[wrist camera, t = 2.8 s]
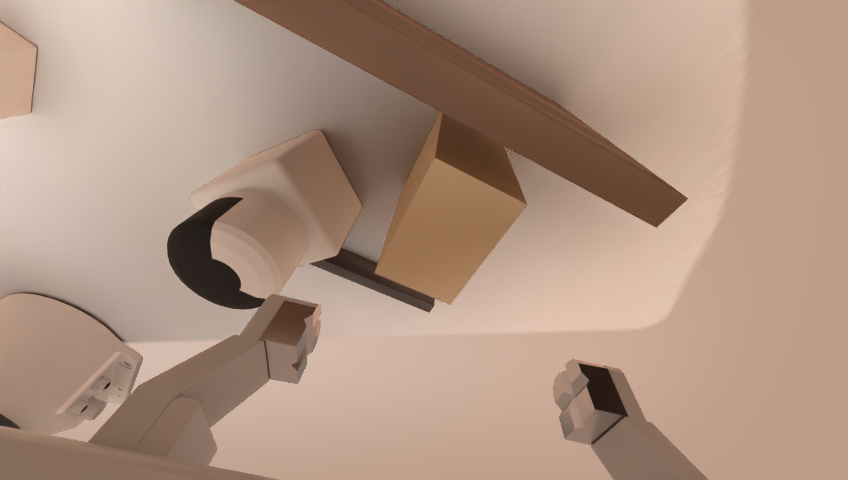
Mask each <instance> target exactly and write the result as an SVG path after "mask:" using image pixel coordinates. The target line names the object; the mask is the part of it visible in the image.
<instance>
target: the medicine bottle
mask: <svg viewBox="0 0 848 480" xmlns="http://www.w3.org/2000/svg"><path fill="white" fill-rule="evenodd" d="M189 199H190V201H191V202H192V203H193V205H194V206H195V207H196V208H197V209H198V210H199V211H198V212H196V213H195V214H194V215H192V216H191V217H189V218H188V219H187V220H185V221H184V222H182V223H181V224H179V225H178V226H177V227H176V228H174V229H173V231H172V232H171V233H170V236H169V238H168V243H167V250H168V258H169V262H170V264H171V267H172V268H173V270H174V272H175V273H176V275H177V276H178V277H179V279H180V280H181V281H182V282H183V283H184V284H185V285H186V286H187V287H188V288H190V289H191V290H192V291H193V292H195V293H196V294H198V295H199V296H201V297H203V298H204V299H206V300H208V301H210V302H213V303H215V304H218V305H220V306H224V307H228V308H233V309H253V308H257V307H261V305H262V304H263V303H264V301H265V300H266V298H267V297H268V296H270V295H271V294H275V295H278V294H279V293H280V291H281V290H282V288H283V287H284V285H285V284H286V282H287V281H288V279H289V278H290V276H291V275H292V273H293V272H294V270H295V269H296V267H299V266H303V265H306V264H309V263H313V262H316V261H320V260H323V259H327V258H330V257H334V256H336V255H337V254H338V253H339V251H340V249H341V247H342V245H343V243H344V242H345V240H346V238H347V236H348V234H349V232H350V230H351V228H352V226H353V224H354V223H355V221H356V219H357V217H358V215H359V213H360V211H361V209H362V205H361V203H360V201H359V199H358V197H357V195H356V194H355V192H354V190H353V188H352V186H351V184H350V183H349V181H348V179H347V177H346V175H345V173H344V172H343V170H342V168H341V166H340V164H339V162H338V160H337V159H336V157H335V155H334V153H333V151H332V149H331V148H330V146H329V144H328V142H327V140H326V138H325V137H324V135H323V133H322V132H321V131H320V130H313V131H311V132H309V133H306V134H304V135H302V136H299V137H297V138H294V139H292V140H290V141H287V142H285V143H283V144H280V145H278V146H276V147H273V148H271V149H268V150H266V151H264V152H261V153H259V154H257V155H254V156H252V157H250V158H247V159H246V160H244V161H243V162H241V163H239V164H238V165H236V166H234V167H233V168H231V169H230V170H228V171H226V172H225V173H223V174H221V175H220V176H218V177H217V178H215V179H213V180H212V181H210V182H209V183H207V184H205V185H204V186H202V187H200V188H199V189H197V190H196V191H194V192H192V193H191V194H190V195H189Z"/></svg>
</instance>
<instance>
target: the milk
mask: <svg viewBox="0 0 848 480" xmlns="http://www.w3.org/2000/svg"><path fill="white" fill-rule="evenodd" d="M36 55H37V47H36V46H34V45H33V44H31V43H30V42H28V41H27V40H25V39H24V38H23V37H21V36H20V35H18V34H17V33H15V32H14V31H12V30H11V29H9V28H8V27H7V26H5V25H4V24H2V23H1V22H0V119H3V118H8V117H13V116H18V115H23V114H28V113H30V112H31V103H32V93H33V84H34V74H35V65H36Z"/></svg>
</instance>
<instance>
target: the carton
mask: <svg viewBox="0 0 848 480" xmlns="http://www.w3.org/2000/svg"><path fill="white" fill-rule="evenodd" d="M526 205H527V203H526V200H525V198H524V196H523V193H522V191H521V188H520V186H519V183H518V181H517V178H516V176H515V173H514V171H513V169H512V166H511V164H510V161H509V159H508V156H507V154H506V151H505V149H504V146H503V145H502V144H500V143H498V142H496V141H494V140H493V139H491V138H489V137H487V136H485V135H483V134H481V133H480V132H478V131H476V130H474V129H472V128H470V127H468V126H467V125H465V124H463V123H461V122H459V121H457V120H455V119H454V118H452V117H450V116H448V115H446V114H444V113H442V112H441V111H440V113H439V115H438V117H437V119H436V121H435V123H434V125H433V128H432V130H431V132H430V134H429V136H428V138H427V140H426V142H425V144H424V146H423V148H422V150H421V152H420V154H419V156H418V158H417V160H416V162H415V164H414V166H413V168H412V170H411V173H410V175H409V177H408V179H407V181H406V183H405V185H404V187H403V190H402V193H401V196H400V199H399V202H398V205H397V208H396V211H395V214H394V217H393V220H392V223H391V226H390V229H389V231H388V234H387V237H386V240H385V243H384V246H383V249H382V252H381V255H380V258H379V261H378V264H377V267H376V270H375V274H378V275H380V276H382V277H385V278H387V279H390V280H392V281H394V282H397V283H399V284H401V285H404V286H406V287H409V288H411V289H413V290H416V291H418V292H421V293H423V294H425V295H428V296H430V297H433V298H435V299H437V300H440V301H442V302H445V303H447V304H449V305H450V304H451V303H452V302H453V300H454V299H455V298H456V296H457V295H458V294H459V292H460V291H461V290H462V289H463V287H464V286H465V285H466V283H467V282H468V281H469V279H470V278H471V277H472V276H473V274H474V273H475V272H476V270H477V269H478V268H479V267H480V265H481V264H482V263H483V261H484V260H485V259H486V257H487V256H488V255H489V254H490V252H491V251H492V250H493V248H494V247H495V246H496V244H497V243H498V242H499V241H500V239H501V238H502V237H503V235H504V234H505V233H506V231H507V230H508V229H509V228H510V226H511V225H512V224H513V222H514V221H515V220H516V218H517V217H518V216H519V215H520V213H521V212H522V211H523V209H524V208H525V207H526Z"/></svg>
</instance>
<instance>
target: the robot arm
mask: <svg viewBox="0 0 848 480" xmlns="http://www.w3.org/2000/svg"><path fill="white" fill-rule="evenodd" d="M320 313H321V305H318V304H313V303H309V302H305V301H301V300H297V299H293V298H289V297H284V296H280V295H275V294H271V295H270V296H268V297H267V298H266V300H265V301H264V303H263V304H262V305H261V307H260V308H259V309H258V311H257V312H256V314H255V315H254V316H253V318H252V319H251V321H250V322H249V323H248V325H247V326H246V328H245V329H244V330H243V332H242V333H241V334H240V336H239V335H233V336H231V337H229V338H228V339H226V340H224V341H222V342H220V343H218V344H216V345H214V346H213V347H211V348H209V349H207V350H205V351H203V352H201V353H199V354H197V355H196V356H194V357H192V358H190V359H188V360H186V361H185V362H182V363H180V364H179V365H177V366H175V367H173V368H171V369H169V370H167V371H165V372H164V373H162V374H160V375H158V376H156V377H154V378H152V379H150V380H149V381H147V382H145V383H143V384H141V385H139V386H138V387H137V388H136V389H135V391H134V392H133V393H132V394H131V395H130V393H131V390H132V388H133V385H134V382H135V379H136V377H137V374H138V371H139V368H140V366H141V363H142V360H143V357H142V356H141V355H140V354H139V353H138V352H136V351H135V350H133V349H132V348H130V347H129V346H127V345H125V344H124V343H123V342H121V341H120V340H119V339H118V338H117V337H116V336H115V335H114V334H113V333H112V332H111V331H110V330H109V329H107V328H106V327H105V326H104V325H102V324H101V323H100V322H98V321H97V320H95V319H94V318H92V317H90V316H89V315H87V314H85V313H84V312H82V311H80V310H78V309H76V308H74V307H72V306H69V305H67V304H65V303H62V302H60V301H57V300H54V299H51V298H47V297H44V296H39V295H34V294H24V293H19V294H12V295H9V296H6V297H5V298H4V299H2V300H1V301H0V480H279V479H274V478H269V477H263V476H258V475H253V474H248V473H243V472H238V471H233V470H227V469H222V468H217V467H212V466H209V464H210V462H211V460H212V458H213V457H214V455H215V453H216V451H217V446H216V443H215V440H214V438H213V435H212V433H211V430H210V427H212V426H213V425H214V424H215V423H217V422H218V421H219V420H220V419H222V418H223V417H224V416H225V415H226V414H228V413H229V412H230V411H232V410H233V409H234V408H235V407H237V406H238V405H239V404H240V403H241V402H243V401H244V400H246V399H247V398H248V397H249V396H251V395H252V394H253V393H254V392H255V391H257V390H258V389H259V388H261V387H262V386H263V385H264V384H265V383H267V382H268V381H269V379H272V380H278V381H285V382H289V383H295V384H298V382H299V380H300V378H301V376H302V374H303V372H304V369H305V367H306V365H307V355H308V354H310V353H311V352H313V349H314V347H315V345H316V342H317V339H318V336H319V332H320V323H321V322H320V321H319V320H318V318H319V316H320ZM566 369H567V370H566V371H563V372H561V373H559V374H558V376H557V377H556V378H555V381H554V386H553V394H554V399H555V403H556V404H557V405H558V406H559V407H560V409H561V410H562V412H561V414H560V416H559V419H560V422H561V426H562V430H563V434H564V438H565V439H567V440H571V441H576V442H580V443H584V444H588V445H592V446H591V448H592V449H593V450H594V452H595V453H596V455H597V456H598V458H599V459H600V461H601V462H602V464H603V465H604V467H605V468H606V469H607V471H608V472H609V474H610V475H611V477H612V478H613V480H708V479H707V478H706V477H705V476H704V475H703V474H702V473H701V472H700V471H699V470H698V469H697V468H696V467H695V466H694V465H693V464H692V463H691V462H690V461H689V460H688V459H687V458H686V457H685V456H684V455H683V454H682V453H681V452H680V451H679V450H678V449H677V448H676V447H675V446H674V445H673V444H672V443H671V442H670V441H669V440H668V439H667V438H666V437H665V436H664V435H663V434H662V433H661V432H660V431H659V430H658V428H656V426H655V425H654V424H652V423H651V422H648V421H646V419H645V417H644V415H643V413H642V411H641V408H640V407H639V404H638V402H637V400H636V398H635V396H634V394H633V392H632V390H631V388H630V386H629V383H628V381H627V379H626V377H625V375H624V373H623V372H622V371H621V370H620V369H617V368H612V367H608V366H602V365H600V364H594V363H589V362H585V361H580V360H575V359H572V360H570V361H569V362H568V363H567V364H566ZM124 401H125V402H124ZM106 402H108V403H123V402H124V403H123V404H122V405H121V406H120V407H119V408H118V409H117V411H116V412H115V413H114V414H113V415H112V416H111V417H110V418H109V419H108V420H107V422H106V423H105V424H104V425H103V426H102V427H101V428H100V429H99V430H98V432H97V433H96V434H95V435H94V436H93V437H92V438H91V439H90V440H89V441H88V442H83V441H78V440H73V439H68V438H63V437H57V436H52V434H55V433H58V432H62V431H65V430H68V429H72V428H75V427H76V426H78V425H79V424H80V423H81V422H83V421H84V420H85V419H87V420H94V419H95V418H96V417H97V416H98V415H99V414H100V413H101V412H102V411H103V409H104V408H105V407H106V405H107V403H106Z"/></svg>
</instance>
